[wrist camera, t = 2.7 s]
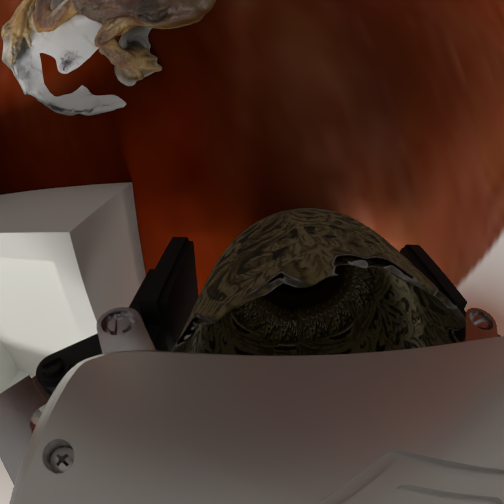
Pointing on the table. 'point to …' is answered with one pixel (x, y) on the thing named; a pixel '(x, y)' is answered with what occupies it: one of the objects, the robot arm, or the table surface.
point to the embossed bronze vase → (316, 293)
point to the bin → (63, 269)
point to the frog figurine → (89, 43)
